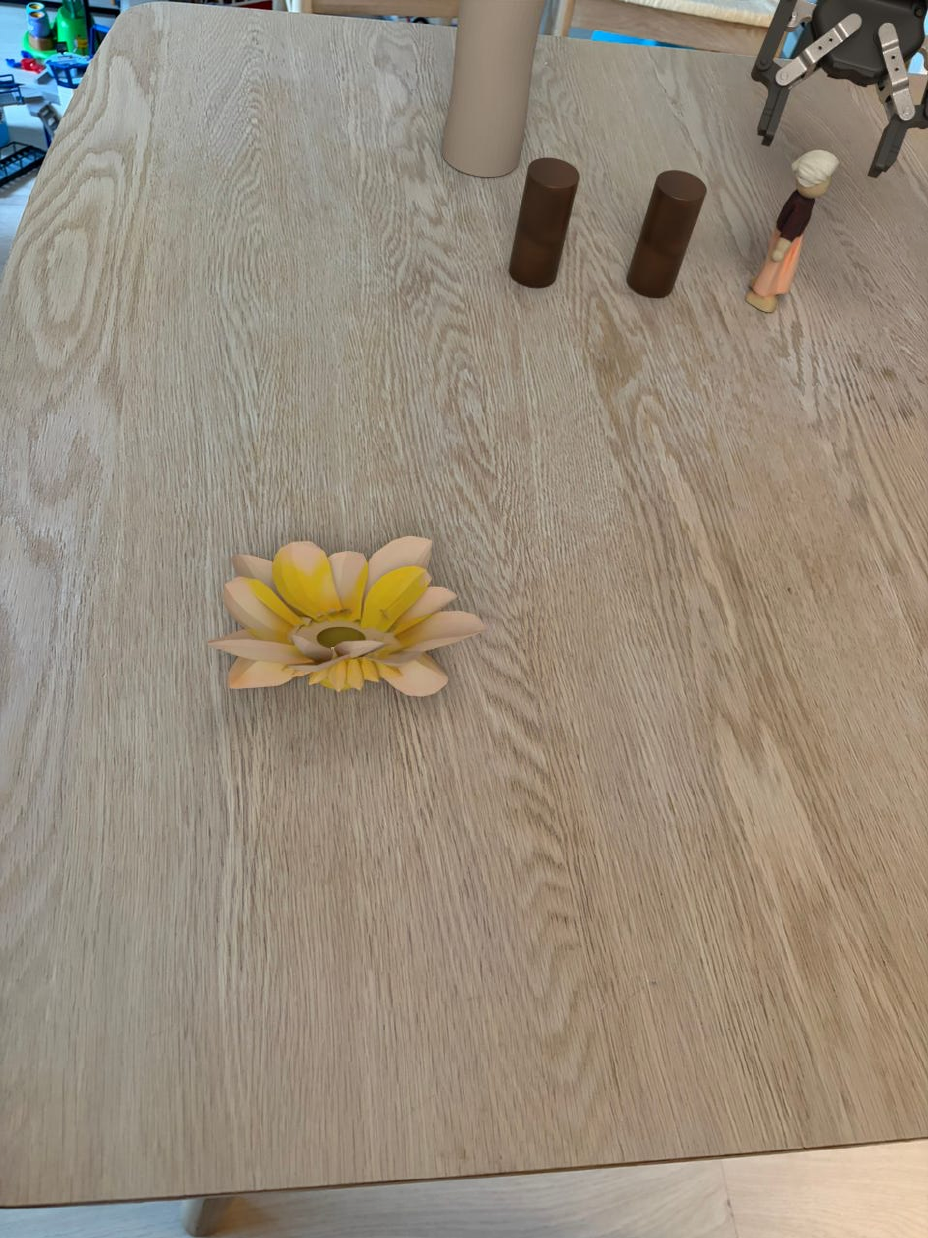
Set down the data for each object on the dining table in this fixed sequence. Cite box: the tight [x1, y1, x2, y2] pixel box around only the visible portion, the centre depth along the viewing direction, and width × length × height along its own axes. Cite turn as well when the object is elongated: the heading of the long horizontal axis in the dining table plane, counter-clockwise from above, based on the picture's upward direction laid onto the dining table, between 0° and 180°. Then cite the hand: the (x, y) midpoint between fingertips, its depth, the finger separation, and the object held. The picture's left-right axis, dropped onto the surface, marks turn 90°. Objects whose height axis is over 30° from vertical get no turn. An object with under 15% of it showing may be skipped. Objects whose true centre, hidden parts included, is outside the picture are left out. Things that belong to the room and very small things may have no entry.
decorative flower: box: [203, 535, 487, 698], centre depth 58 cm, size 15×11×10 cm
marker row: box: [508, 157, 708, 299], centre depth 82 cm, size 14×4×9 cm, turn 92°
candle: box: [440, 0, 547, 178], centre depth 88 cm, size 7×14×20 cm, turn 172°
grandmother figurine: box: [744, 149, 840, 313], centre depth 82 cm, size 8×4×13 cm, turn 171°
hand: (820, 158), depth 79 cm, fingers open, 8 cm apart
